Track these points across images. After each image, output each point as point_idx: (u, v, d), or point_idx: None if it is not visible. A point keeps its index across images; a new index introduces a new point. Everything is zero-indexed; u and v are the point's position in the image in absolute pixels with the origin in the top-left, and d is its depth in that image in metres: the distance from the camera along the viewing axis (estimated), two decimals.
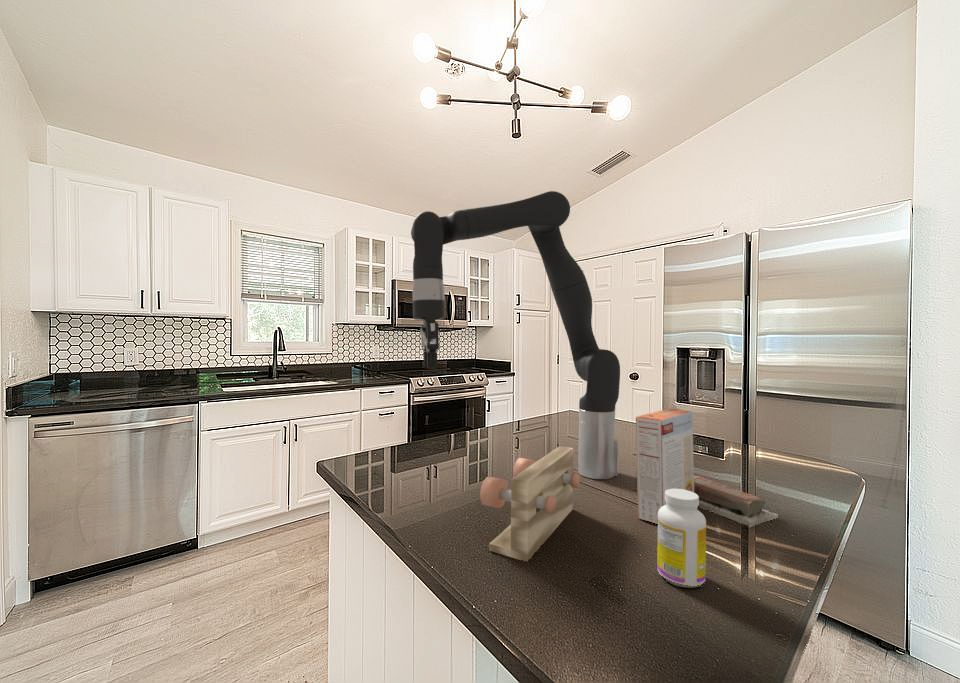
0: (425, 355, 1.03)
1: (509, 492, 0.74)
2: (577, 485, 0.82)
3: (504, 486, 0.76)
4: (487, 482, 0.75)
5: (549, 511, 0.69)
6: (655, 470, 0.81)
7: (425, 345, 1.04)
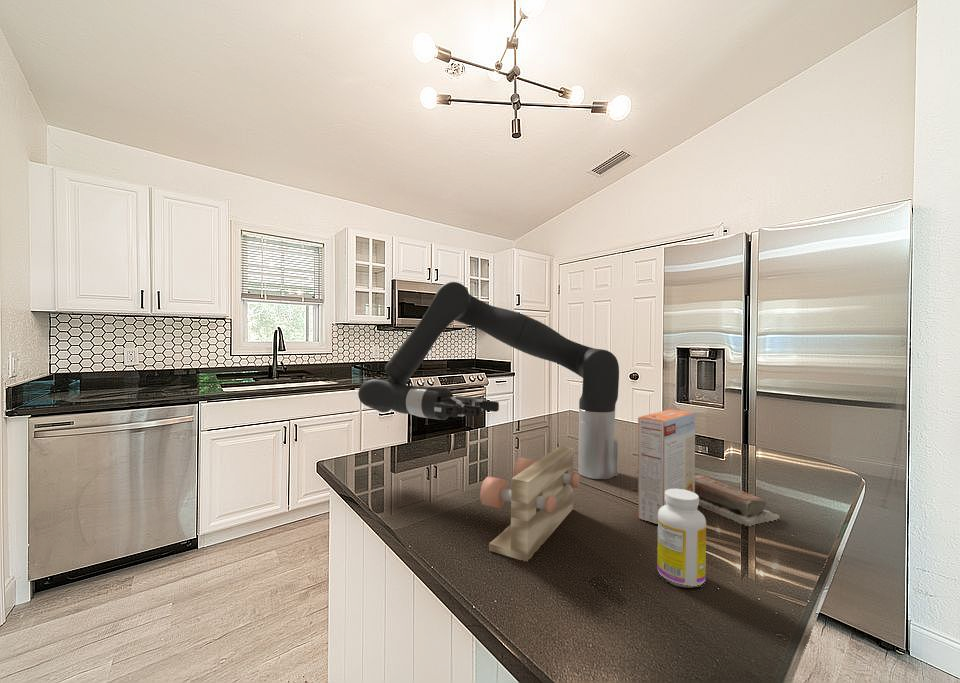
0: (486, 409, 0.97)
1: (509, 492, 0.74)
2: (577, 485, 0.82)
3: (504, 486, 0.76)
4: (487, 482, 0.75)
5: (549, 511, 0.69)
6: (657, 471, 0.80)
7: None
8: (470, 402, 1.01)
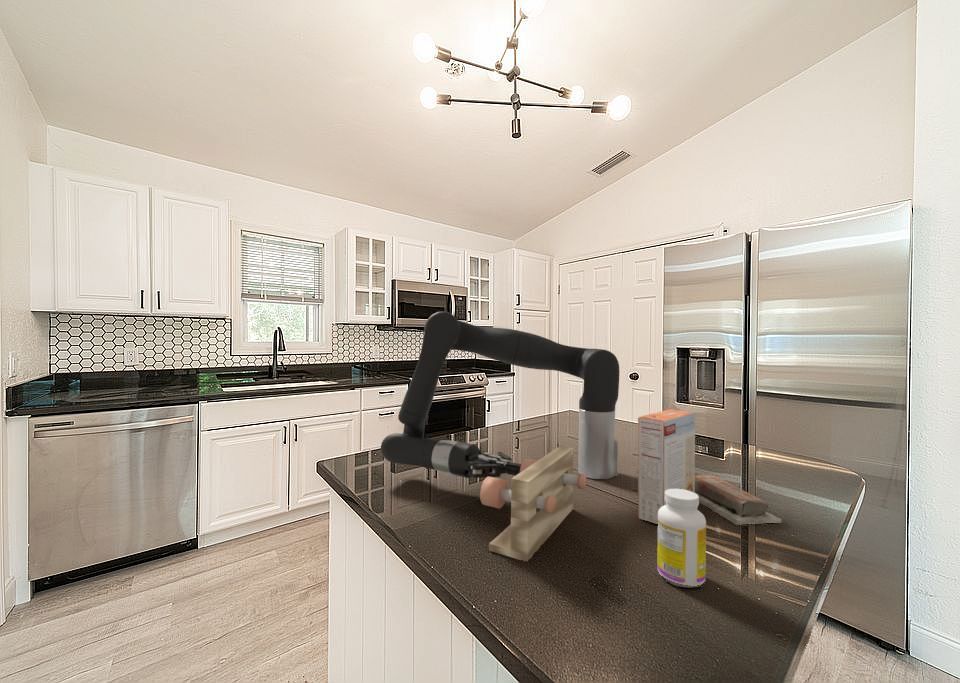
0: None
1: (509, 492, 0.74)
2: (584, 486, 0.82)
3: (504, 486, 0.76)
4: (487, 482, 0.75)
5: (549, 511, 0.69)
6: (657, 471, 0.80)
7: None
8: None
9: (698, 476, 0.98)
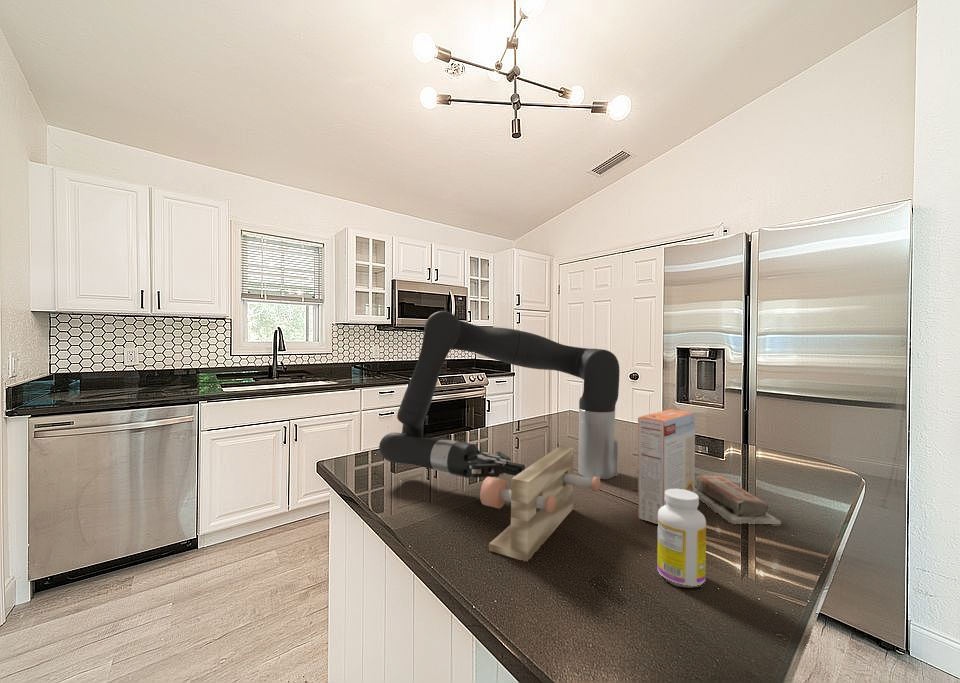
0: None
1: (509, 492, 0.74)
2: (598, 489, 0.80)
3: (504, 486, 0.76)
4: (487, 482, 0.75)
5: (549, 511, 0.69)
6: (657, 471, 0.80)
7: None
8: None
9: (704, 476, 0.98)
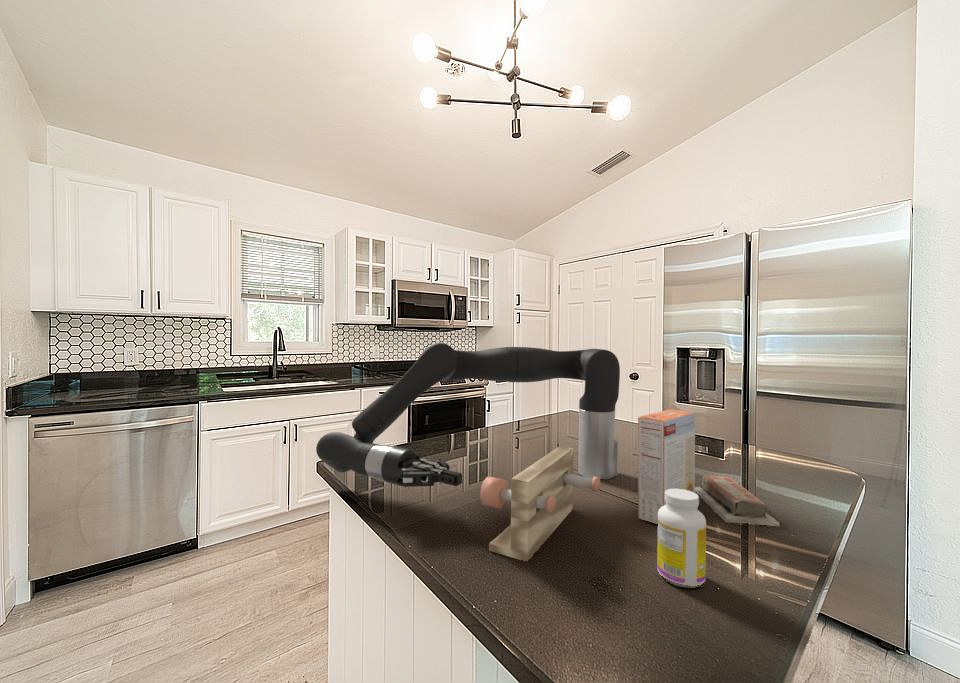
0: None
1: (509, 492, 0.74)
2: (598, 489, 0.80)
3: (504, 486, 0.76)
4: (487, 482, 0.75)
5: (549, 511, 0.69)
6: (657, 471, 0.80)
7: None
8: None
9: (711, 476, 0.98)
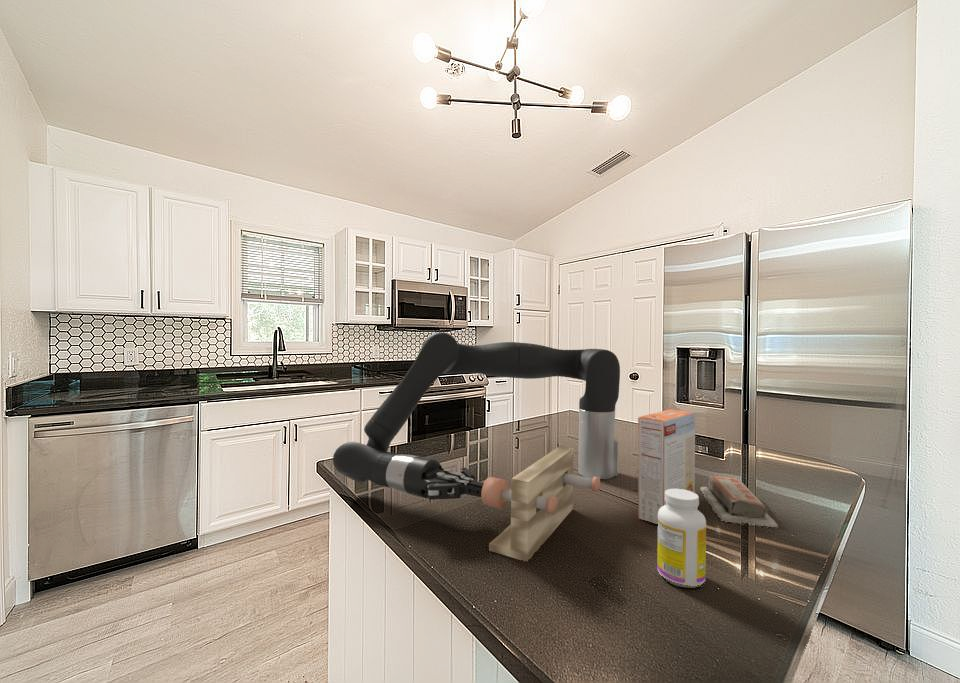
0: None
1: (510, 493, 0.74)
2: (598, 489, 0.80)
3: (505, 486, 0.76)
4: (488, 482, 0.75)
5: (550, 512, 0.69)
6: (657, 471, 0.80)
7: None
8: None
9: (717, 476, 0.98)
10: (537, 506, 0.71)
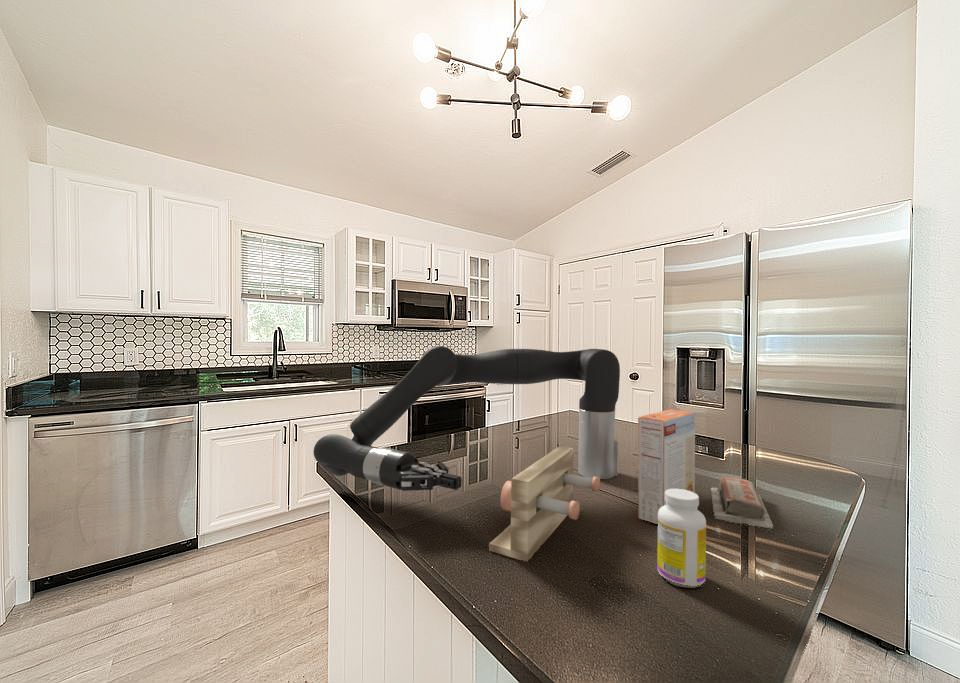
0: None
1: None
2: (598, 489, 0.80)
3: None
4: (507, 486, 0.73)
5: (573, 517, 0.67)
6: (657, 471, 0.80)
7: None
8: None
9: (728, 477, 0.97)
10: (559, 511, 0.69)
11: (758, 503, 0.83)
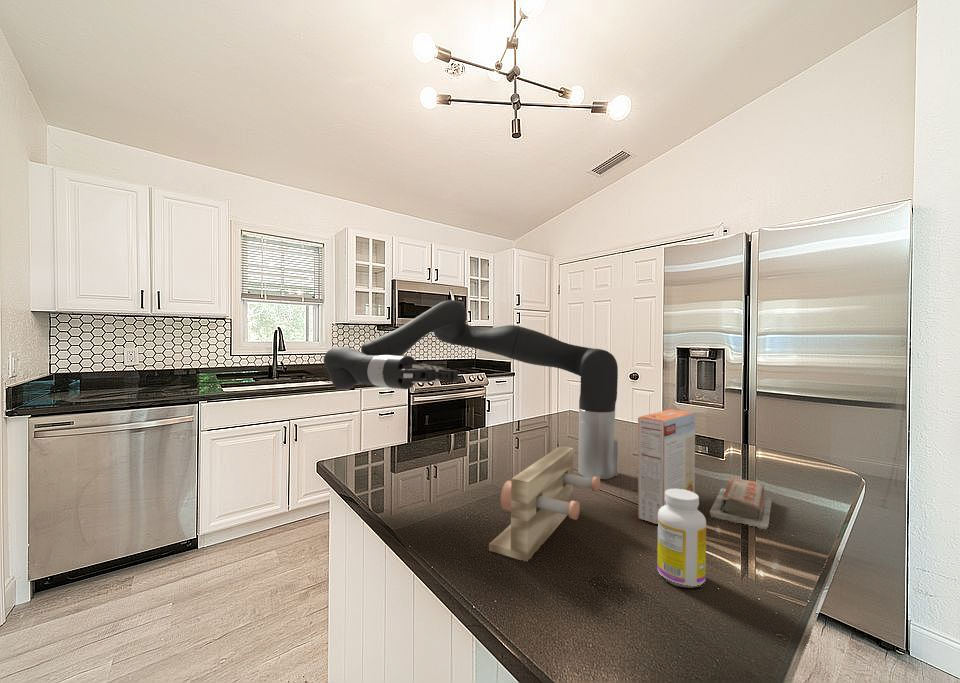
0: None
1: None
2: (598, 489, 0.80)
3: None
4: (507, 486, 0.73)
5: (573, 517, 0.67)
6: (657, 471, 0.80)
7: None
8: None
9: (737, 479, 0.96)
10: (559, 511, 0.69)
11: (756, 504, 0.83)
